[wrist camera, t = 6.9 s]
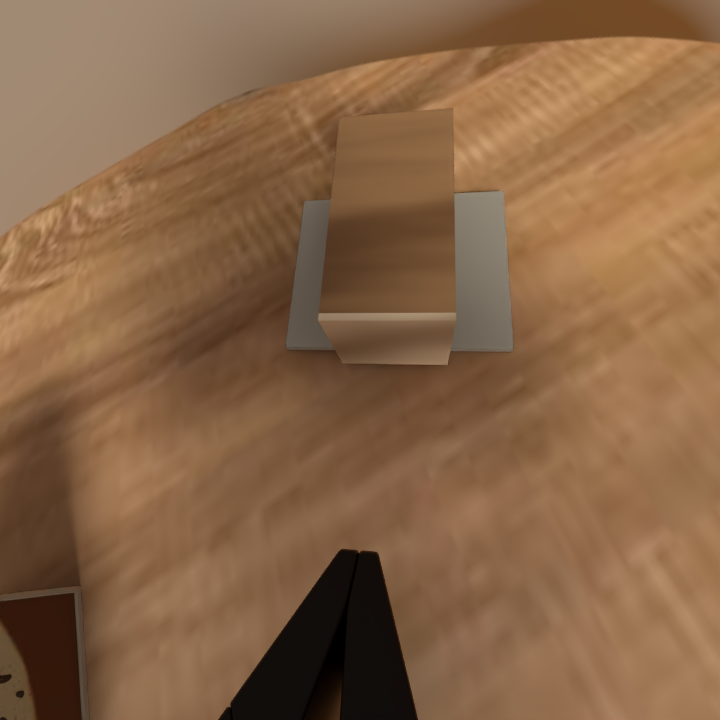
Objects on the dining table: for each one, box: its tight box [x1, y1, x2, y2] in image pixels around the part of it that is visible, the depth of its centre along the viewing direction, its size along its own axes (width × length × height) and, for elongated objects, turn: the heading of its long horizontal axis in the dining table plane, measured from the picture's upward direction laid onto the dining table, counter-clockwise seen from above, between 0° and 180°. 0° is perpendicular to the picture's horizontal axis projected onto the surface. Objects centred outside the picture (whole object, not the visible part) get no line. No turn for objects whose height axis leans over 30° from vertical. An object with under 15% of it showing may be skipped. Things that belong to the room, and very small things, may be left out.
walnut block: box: [318, 108, 456, 365], centre depth 18 cm, size 5×5×10 cm
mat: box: [286, 191, 514, 352], centre depth 21 cm, size 9×11×1 cm
